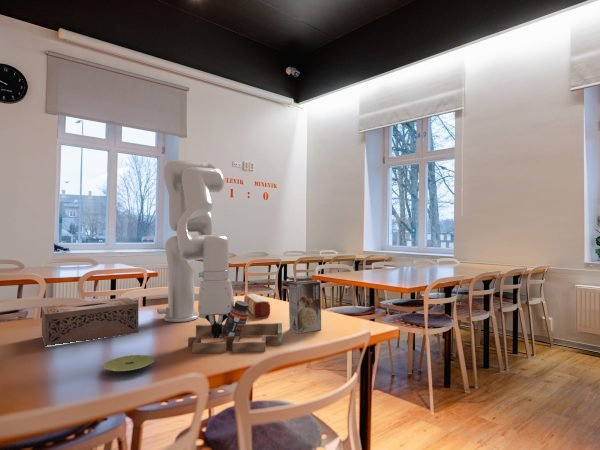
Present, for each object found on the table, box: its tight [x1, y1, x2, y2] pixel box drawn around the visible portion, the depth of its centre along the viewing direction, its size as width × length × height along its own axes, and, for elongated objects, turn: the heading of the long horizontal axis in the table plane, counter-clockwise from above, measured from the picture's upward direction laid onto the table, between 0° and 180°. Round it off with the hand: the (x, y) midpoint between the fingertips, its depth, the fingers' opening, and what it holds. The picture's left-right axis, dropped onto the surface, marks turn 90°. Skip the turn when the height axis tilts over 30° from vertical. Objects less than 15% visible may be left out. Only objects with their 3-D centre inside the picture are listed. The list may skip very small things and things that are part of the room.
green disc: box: [102, 354, 155, 372], centre depth 93 cm, size 11×11×2 cm
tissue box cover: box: [41, 297, 140, 347], centre depth 125 cm, size 26×14×10 cm, turn 127°
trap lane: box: [187, 322, 283, 354], centre depth 114 cm, size 27×17×4 cm, turn 93°
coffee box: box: [288, 279, 322, 334], centre depth 128 cm, size 9×6×16 cm
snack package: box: [243, 293, 271, 319], centre depth 155 cm, size 21×7×7 cm, turn 19°
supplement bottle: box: [221, 299, 249, 341], centre depth 116 cm, size 6×6×11 cm
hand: (216, 336), depth 116 cm, fingers closed
